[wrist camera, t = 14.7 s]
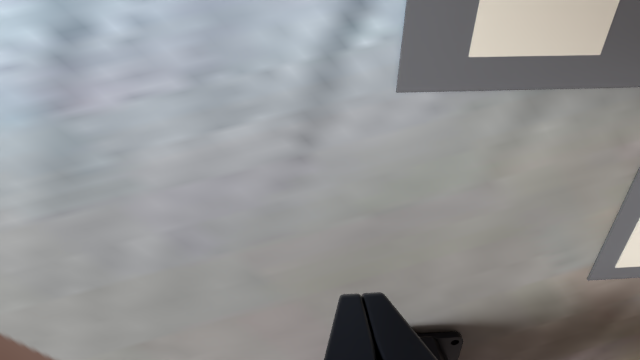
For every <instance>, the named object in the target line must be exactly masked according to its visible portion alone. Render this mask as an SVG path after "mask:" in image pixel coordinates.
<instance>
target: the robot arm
mask: <svg viewBox="0 0 640 360" xmlns="http://www.w3.org/2000/svg"><path fill="white" fill-rule="evenodd" d="M462 344H463V339H462V336H461V334H460V333H458V332H443V333H427V334H416V333H415V331H414V330H413V329H412V328H411V327H410V325H409V324H408V323H407V322H406V320H405V319H404V318H403V317H402V316H401V314H400V313H399V312H398V311H397V309H396V308H395V307H394V306H393V305H392V303H391V302H390V301H389V300H388V298H387V297H386V296H385V295H384V294H383V293H380V292H377V293H364V294H363V295H362V296H361V295H360V294H343V295H341V296H340V298H339V302H338V306H337V310H336V314H335V318H334V322H333V326H332V330H331V334H330V338H329V342H328V346H327V350H326V354H325V358H324V360H458V357H459V354H460V350H461V347H462Z"/></svg>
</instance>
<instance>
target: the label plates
mask: <svg viewBox="0 0 640 360" xmlns="http://www.w3.org/2000/svg"><path fill="white" fill-rule="evenodd" d="M624 87H640V0H407V2H406V11H405V19H404V28H403V37H402V45H401V54H400V62H399V71H398V80H397V88H396V92H397V93H399V92H444V91H489V90H534V89H579V88H624ZM623 278H640V168H639V170H638V172H637V174H636V176H635V179H634V181H633V183H632V185H631V187H630V189H629V191H628V193H627V196H626V198H625V200H624V202H623V204H622V206H621V208H620V210H619V213H618V215H617V217H616V219H615V221H614V223H613V225H612V227H611V230H610V232H609V234H608V236H607V238H606V240H605V242H604V244H603V247H602V249H601V251H600V253H599V255H598V257H597V259H596V261H595V263H594V266H593V268H592V270H591V272H590V274H589V276H588V278H587V280H605V279H623Z"/></svg>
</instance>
